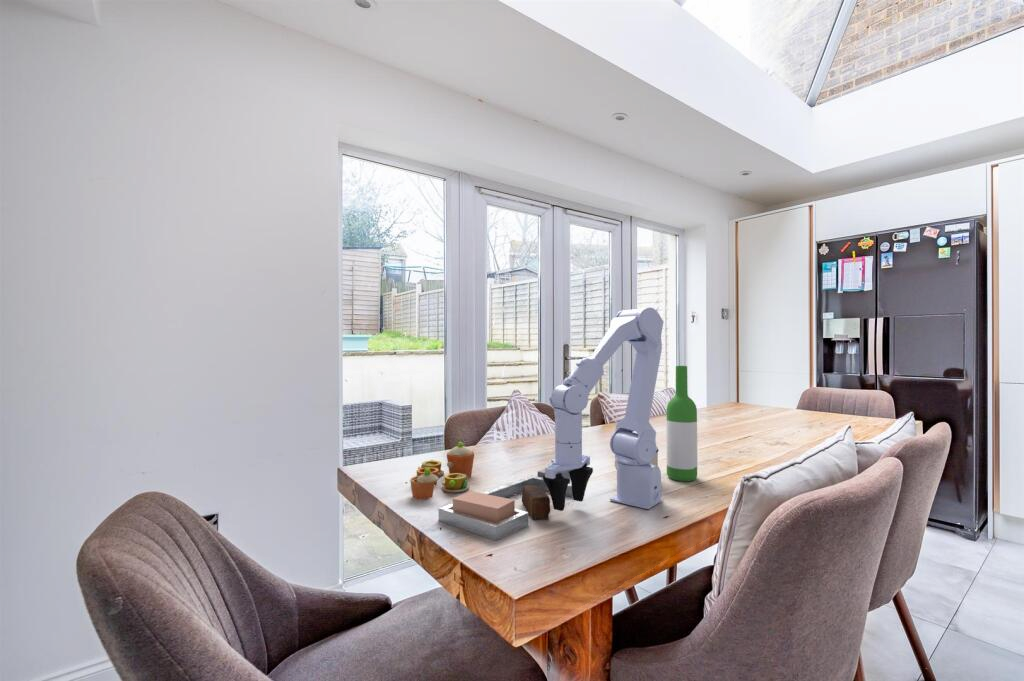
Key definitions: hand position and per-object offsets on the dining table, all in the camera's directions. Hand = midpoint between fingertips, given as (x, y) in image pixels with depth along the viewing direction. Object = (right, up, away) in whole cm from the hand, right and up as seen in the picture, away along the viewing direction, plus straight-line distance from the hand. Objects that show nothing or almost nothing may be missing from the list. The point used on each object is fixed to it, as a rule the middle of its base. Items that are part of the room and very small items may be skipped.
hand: (568, 504), depth 102 cm
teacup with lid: (+20, -2, +22) cm, 30 cm away
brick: (-7, -2, +1) cm, 7 cm away
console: (-1, -2, +20) cm, 20 cm away
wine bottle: (+33, -2, +26) cm, 42 cm away
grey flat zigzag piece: (-11, -2, +3) cm, 11 cm away
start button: (-1, -1, +20) cm, 20 cm away
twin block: (-18, -2, -6) cm, 19 cm away
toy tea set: (-30, -2, +21) cm, 36 cm away
